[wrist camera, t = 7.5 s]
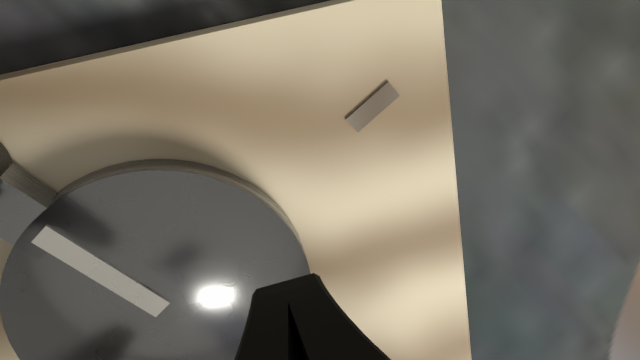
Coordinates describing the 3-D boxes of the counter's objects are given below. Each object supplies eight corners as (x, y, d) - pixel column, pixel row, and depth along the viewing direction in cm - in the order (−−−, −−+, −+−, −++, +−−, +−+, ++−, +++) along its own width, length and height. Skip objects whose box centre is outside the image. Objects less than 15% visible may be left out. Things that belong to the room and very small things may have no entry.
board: (461, 352, 27) (474, 373, 25) (-24, 491, 25) (-37, 521, 24) (425, -36, 19) (440, -35, 17) (-300, 125, 17) (-341, 140, 15)
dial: (362, 271, 22) (399, 353, 18) (187, 433, 24) (180, 543, 19) (35, 9, 16) (-32, 35, 12) (-165, 255, 18) (-286, 356, 13)
